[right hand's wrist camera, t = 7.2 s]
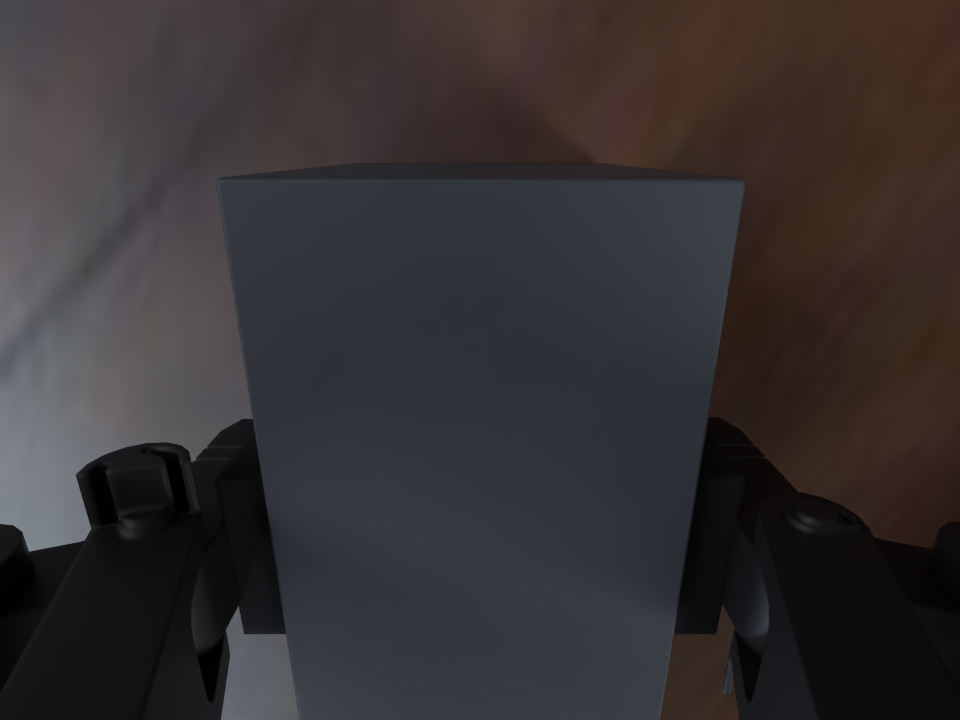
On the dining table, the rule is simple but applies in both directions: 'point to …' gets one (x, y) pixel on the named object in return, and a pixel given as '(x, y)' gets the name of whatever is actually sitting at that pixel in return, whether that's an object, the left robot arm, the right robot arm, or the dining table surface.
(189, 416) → the dining table surface
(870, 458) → the dining table surface
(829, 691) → the right robot arm
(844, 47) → the dining table surface
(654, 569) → the bar
